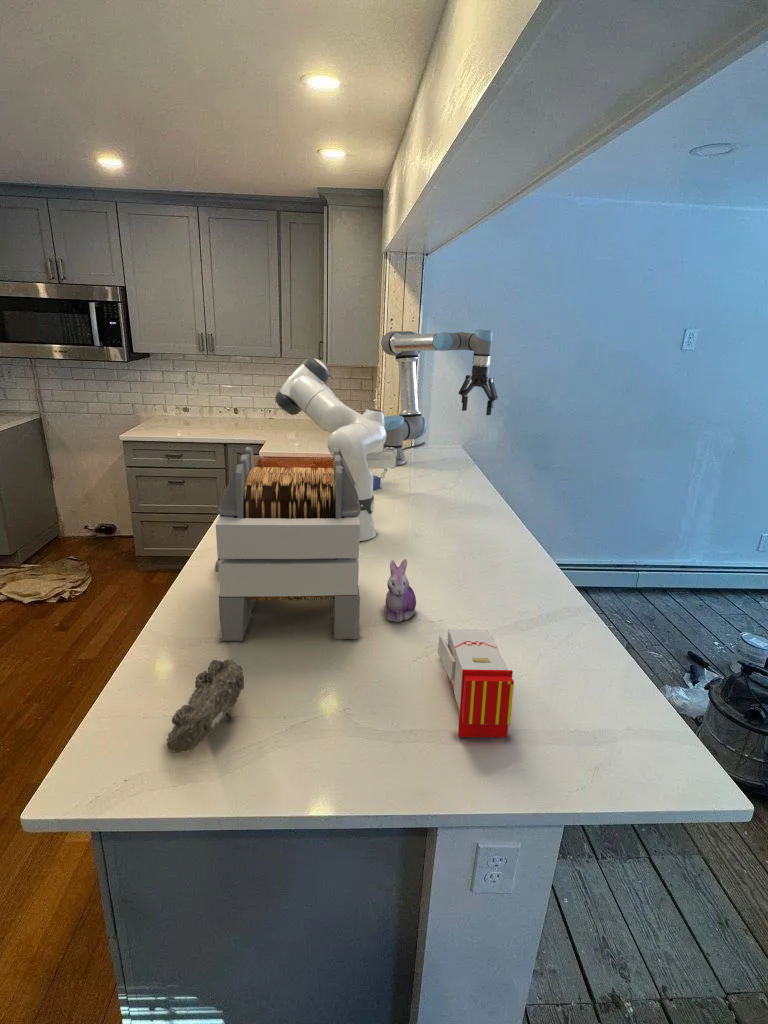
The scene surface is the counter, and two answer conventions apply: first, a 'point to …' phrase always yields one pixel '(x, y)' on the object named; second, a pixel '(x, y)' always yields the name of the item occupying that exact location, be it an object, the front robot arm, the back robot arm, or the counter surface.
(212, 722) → the fossil
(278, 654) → the counter surface
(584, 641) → the counter surface
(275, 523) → the transformer
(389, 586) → the figurine
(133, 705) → the counter surface
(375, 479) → the block
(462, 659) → the toy
